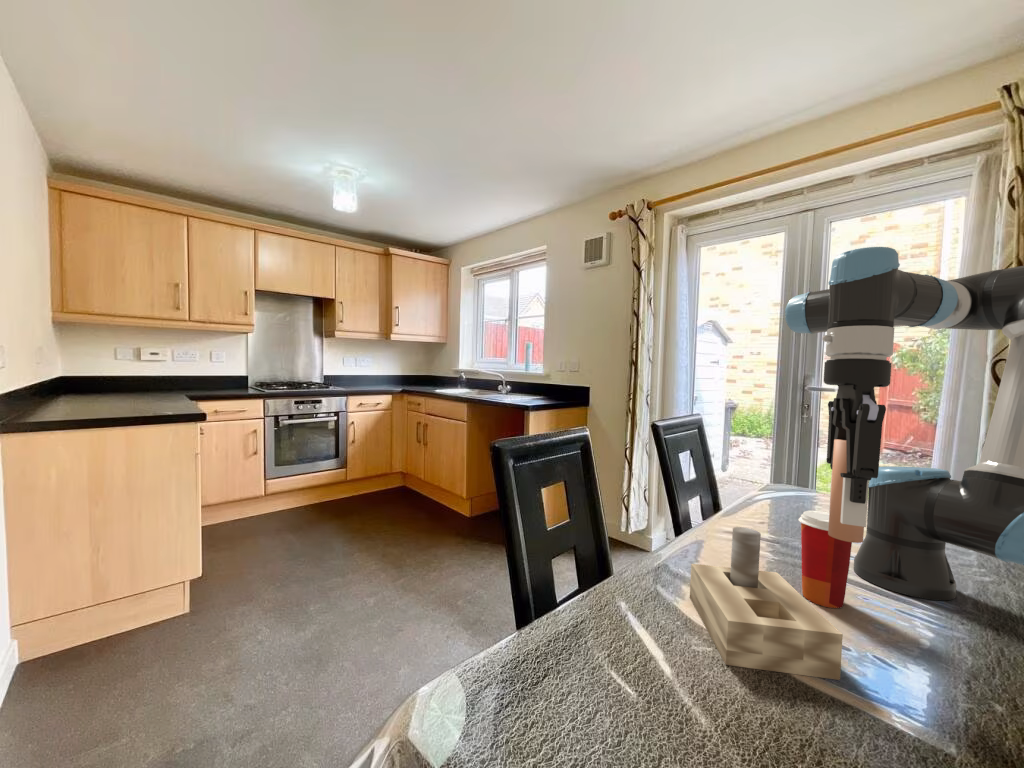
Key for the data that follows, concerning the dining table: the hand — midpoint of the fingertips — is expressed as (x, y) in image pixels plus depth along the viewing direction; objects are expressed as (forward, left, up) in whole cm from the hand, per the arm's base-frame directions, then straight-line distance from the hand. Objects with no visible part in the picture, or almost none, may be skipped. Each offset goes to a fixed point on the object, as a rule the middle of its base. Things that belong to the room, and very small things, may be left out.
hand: (846, 519), depth 62 cm
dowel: (0, 0, -3) cm, 3 cm away
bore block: (+11, -2, -19) cm, 22 cm away
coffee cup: (-6, -16, -19) cm, 25 cm away
